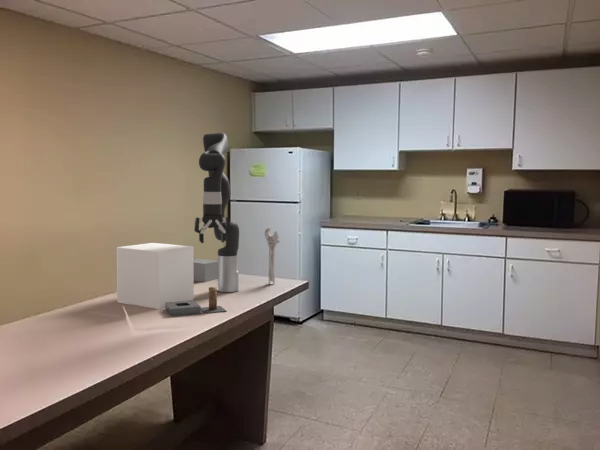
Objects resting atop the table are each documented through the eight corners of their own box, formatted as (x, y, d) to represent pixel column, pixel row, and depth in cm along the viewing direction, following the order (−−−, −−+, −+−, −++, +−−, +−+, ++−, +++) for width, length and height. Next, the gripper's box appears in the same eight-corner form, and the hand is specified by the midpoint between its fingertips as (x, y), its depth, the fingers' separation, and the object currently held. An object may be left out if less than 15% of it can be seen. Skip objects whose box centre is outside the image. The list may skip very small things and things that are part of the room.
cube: (193, 300, 236) (193, 246, 234) (159, 310, 218) (158, 251, 216) (153, 294, 248) (152, 242, 246) (117, 302, 230) (116, 247, 228)
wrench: (279, 286, 268) (280, 228, 265) (278, 287, 266) (279, 228, 264) (265, 285, 270) (265, 227, 268) (264, 285, 269) (264, 227, 266)
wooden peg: (215, 307, 219) (215, 286, 218) (217, 309, 216) (217, 288, 215) (207, 308, 218) (207, 287, 217) (209, 310, 215) (209, 288, 214)
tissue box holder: (233, 278, 291) (233, 258, 290) (204, 284, 271) (204, 263, 270) (200, 273, 304) (200, 254, 303) (170, 279, 284) (170, 259, 283)
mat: (220, 306, 223) (220, 305, 223) (226, 311, 215) (226, 310, 215) (199, 308, 219) (199, 307, 219) (204, 313, 211) (204, 312, 211)
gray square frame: (194, 307, 222) (194, 300, 221) (200, 313, 211) (200, 306, 210) (165, 309, 217) (165, 302, 216) (170, 316, 206) (170, 309, 206)
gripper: (226, 202, 220) (226, 241, 221) (192, 202, 214) (193, 242, 215) (231, 203, 213) (231, 243, 214) (197, 203, 207) (197, 244, 208)
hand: (212, 242), depth 215 cm, fingers open, 8 cm apart
